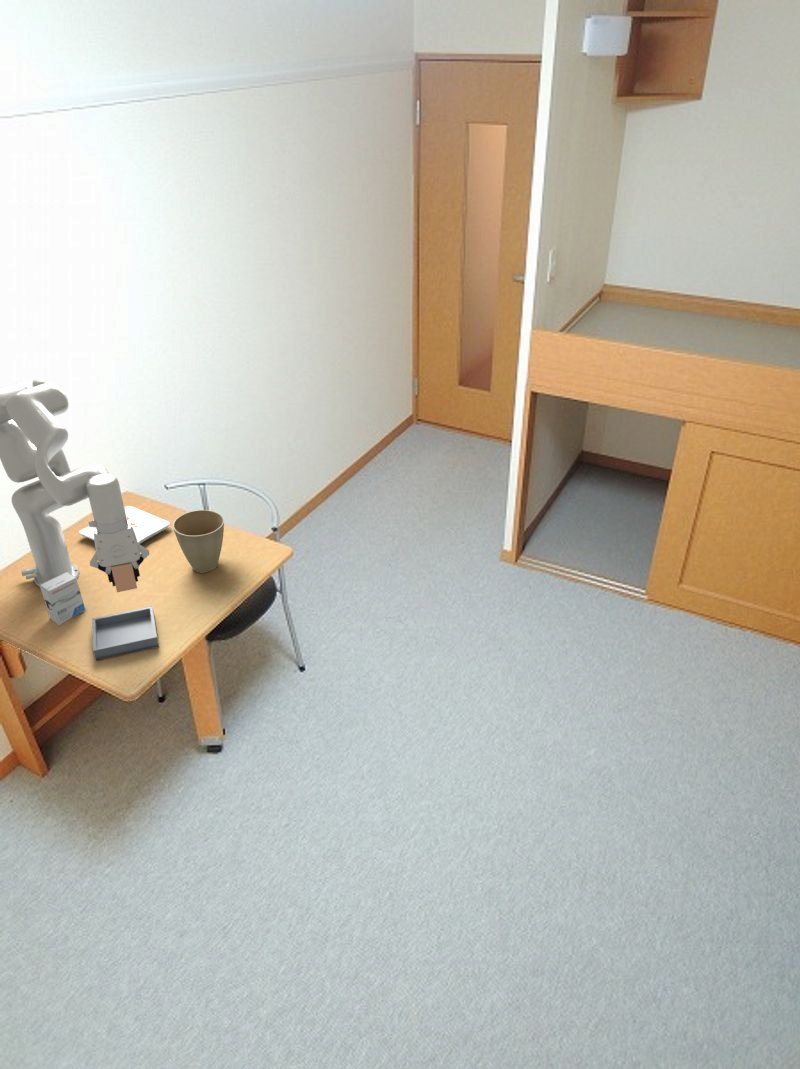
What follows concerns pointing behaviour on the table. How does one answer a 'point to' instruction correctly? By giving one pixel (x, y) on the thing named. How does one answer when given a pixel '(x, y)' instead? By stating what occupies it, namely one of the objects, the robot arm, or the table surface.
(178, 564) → the table surface
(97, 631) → the tray
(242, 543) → the table surface
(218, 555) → the plant pot
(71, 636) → the table surface
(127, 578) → the terracotta block
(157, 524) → the salad plate
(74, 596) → the ink box
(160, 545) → the table surface
